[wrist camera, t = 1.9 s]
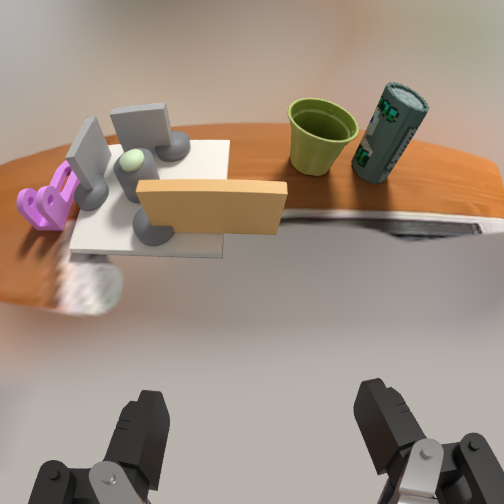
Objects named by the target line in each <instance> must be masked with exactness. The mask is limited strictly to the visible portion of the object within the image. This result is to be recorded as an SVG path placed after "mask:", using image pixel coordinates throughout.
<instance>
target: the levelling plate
mask: <svg viewBox="0 0 504 504" xmlns="http://www.w3.org/2000/svg"><path fill="white" fill-rule="evenodd" d="M110 117H111V119H112V122H113V125H114V127H115V130H116V133H117V136H118V138H119V141H120V144H118V145H109V146H108V145H107V142H106V140H105V138H104V135H103V133H102V131H101V128H100V126H99V123H98V121H97V118H96V116H94V117H89V118H87V119H86V121H85V123H84V124H83V126H82V128H81V129H80V131H79V133H78V135H77V136H76V138H75V140H74V142H73V144H72V146H71V147H70V149H69V151H68V153H67V155H66V157H65V158H66V160H67V162H68V163H69V165H70V167H71V168H72V170H73V172H74V173H75V175H76V176H77V178H78V180H79V181H80V184H79V185H78V186H77V188H76V190H75V192H74V200H75V202H76V203H77V204H78V206H79V207H80V208H81V209H80V212H79V215H78V218H77V221H76V224H75V228H74V231H73V235H72V238H71V242H70V245H69V249H70V250H71V251H72V252H73V253H77V254H102V255H131V256H159V257H190V258H191V257H193V258H223V239H224V233H189V232H175V233H174V235H173V236H172V237H171V239H170V240H168V241H167V242H166V243H164V244H162V245H159V246H147V245H145V244H143V243H142V242H141V241H140V240H139V239H138V237H137V236H136V234H135V232H134V230H133V226H132V223H133V218H134V216H135V214H136V213H137V211H138V210H139V209H141V208H142V205H141V202H140V200H139V198H138V196H137V194H136V189H137V185H138V182H139V180H161V179H227V176H228V163H229V150H230V140H190V139H189V136H188V135H187V134H186V133H184V132H181V131H172V132H171V127H170V121H169V117H168V111H167V105H166V103H156V104H144V105H135V106H127V107H121V108H114V109H113V110H112V112H111V113H110Z"/></svg>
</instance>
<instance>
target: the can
mask: <svg viewBox="0 0 504 504" xmlns="http://www.w3.org/2000/svg"><path fill="white" fill-rule="evenodd" d="M428 110H429V107H428V106H427V103H426V101H425V100H424V98H422V97H421V96H419V94H418V93H416V92H415V91H413V90H411V89H410V88H408V87H405V86H404V85H402V84H398V83H395V82H394V83H391V82H389V83H388V84H387V85H386V87H385V89H384V91H383V94H382V96H381V99H380V101H379V104H378V105H377V107H376V110H375V112H374V114H373V116H372V119H371V121H370V123H369V125H368V127H367V129H366V132H365V134H364V136H363V138H362V140H361V142H360V144H359V147H358V149H357V151H356V153H355V155H354V157H353V159H352V162H353V163H352V166H353V168H354V171H355V172H356V173H358V174H357V175H358V176H359V177H361V178H362V179H364V180H365V181H366V182H371V183H372V184H374V183H375V184H377V183H378V184H380V183H381V182H382V183H384V181H385V180H386V178H387V177H388V175H389V174H390V172H391V171H392V169H393V168H394V166H395V164H396V163H397V161H398V160H399V158H400V157H401V155H402V153H403V152H404V150H405V149H406V147H407V145H408V144H409V142H410V141H411V139H412V137H413V136H414V134H415V132H416V131H417V129H418V127H419V126H420V124H421V122H422V121H423V119H424V117H425V116H426V114H427V112H428Z"/></svg>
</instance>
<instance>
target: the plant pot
mask: <svg viewBox="0 0 504 504" xmlns="http://www.w3.org/2000/svg"><path fill="white" fill-rule="evenodd" d="M288 117H289V119H290V124H291V127H292V130H291V150H290V159H291V163H292V165H293V166H294V167H295V168H296V169H297V170H298V171H300V172H301V173H303V174H306V175H315V176H321V175H323V174H325V173H326V172H327V171H328V170H329V169H330V167H331V166H332V164H333V163H334V161H335V160H336V158H337V157H338V155H339V154H340V152H341V151H342V149H343V148H344V146H345V145H347V144H348V143H349V142H350V141H352V140H353V139H355V138H356V136H357V134H358V132H359V128H358V124H357V122H356V120H355V119H354V118H353V116H352V115H351V114H350V113H349V112H348V111H346V110H345V109H343V108H342V107H340V106H338V105H337V104H334V103H332V102H329V101H326V100H322V99H317V98H304V99H299V100H296V101H294V102H293V103H292V104H291V105H290V106H289V108H288Z"/></svg>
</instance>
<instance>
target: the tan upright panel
mask: <svg viewBox="0 0 504 504" xmlns="http://www.w3.org/2000/svg"><path fill="white" fill-rule="evenodd" d="M136 194H137V196H138V198H139V200H140V202H141V205H142V208H141V209H139V210H138V211H137V213H136V214H135V216H134V218H133V223H132V226H133V230H134V232H135V234H136V236H137V237H138V239H139V240H140V241H141V242H142V243H143V244H145V245H147V246H159V245H162V244H164V243H166V242H167V241H168V240H170V239H171V237H172V236H173V235H174V233H175V232H189V233H231V234H264V235H265V234H266V235H276V233H277V230H278V226H279V223H280V219H281V216H282V212H283V209H284V205H285V202H286V198H287V194H288V193H287V182H278V181H258V180H228V179H161V180H139V182H138V185H137V189H136Z"/></svg>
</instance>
